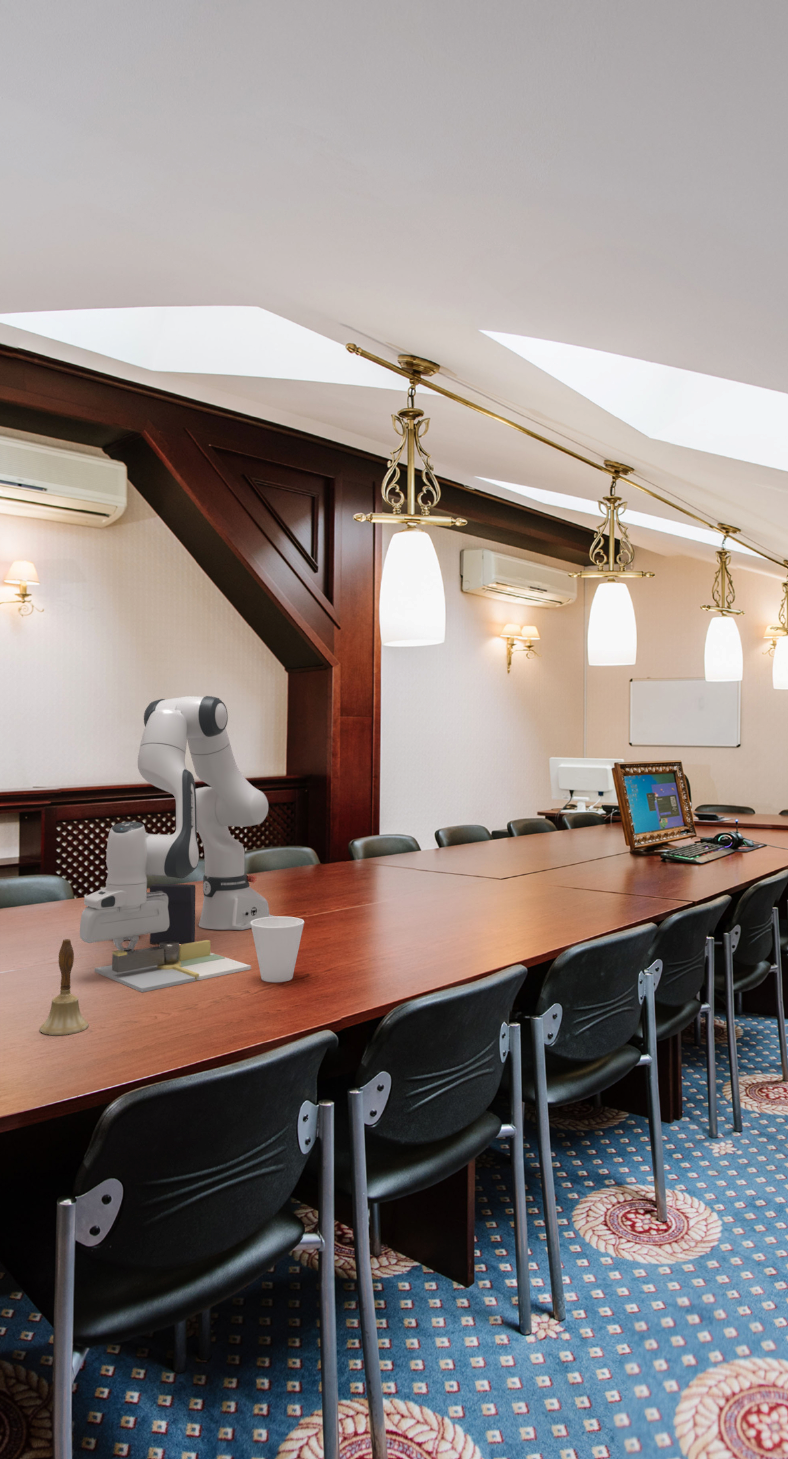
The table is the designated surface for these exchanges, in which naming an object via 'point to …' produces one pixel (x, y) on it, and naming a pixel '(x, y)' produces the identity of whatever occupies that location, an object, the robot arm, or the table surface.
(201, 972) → the base
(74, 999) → the hand bell
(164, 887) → the dark blue box
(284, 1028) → the table surface
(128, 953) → the bar
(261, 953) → the cup
